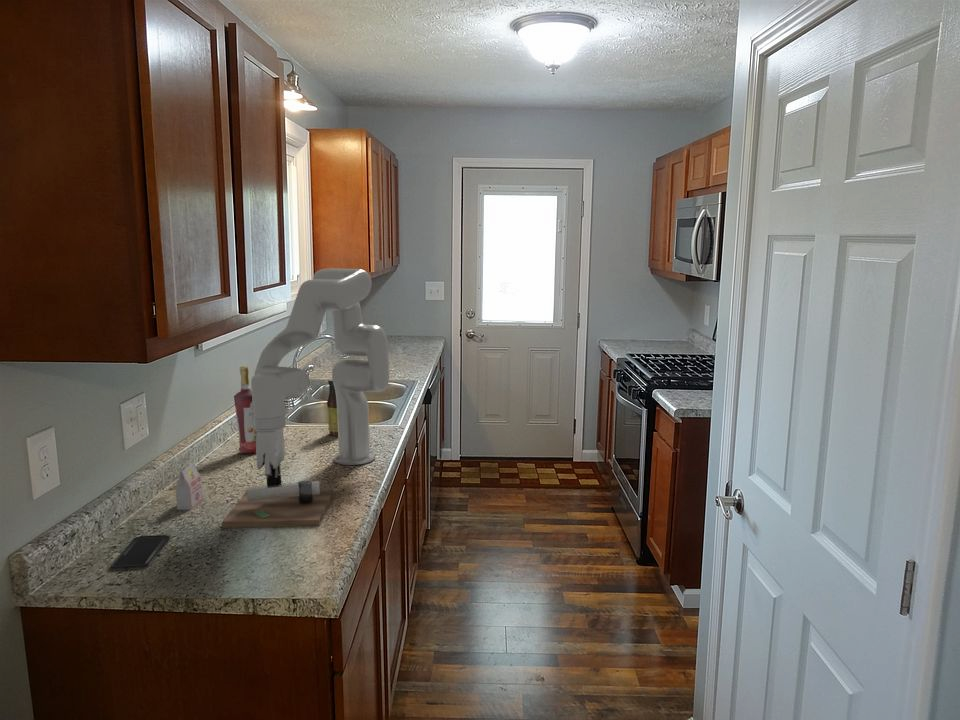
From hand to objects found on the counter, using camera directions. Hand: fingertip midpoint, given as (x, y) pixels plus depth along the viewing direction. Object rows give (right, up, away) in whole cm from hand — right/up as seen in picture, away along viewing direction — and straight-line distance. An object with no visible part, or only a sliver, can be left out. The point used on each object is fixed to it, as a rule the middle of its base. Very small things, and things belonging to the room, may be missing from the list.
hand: (274, 490), depth 174 cm
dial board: (+2, -5, -1) cm, 5 cm away
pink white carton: (-23, -4, +3) cm, 23 cm away
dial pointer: (+3, -3, -2) cm, 4 cm away
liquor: (-22, +4, +45) cm, 50 cm away
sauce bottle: (+3, +7, +65) cm, 65 cm away
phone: (-22, -10, -25) cm, 34 cm away
